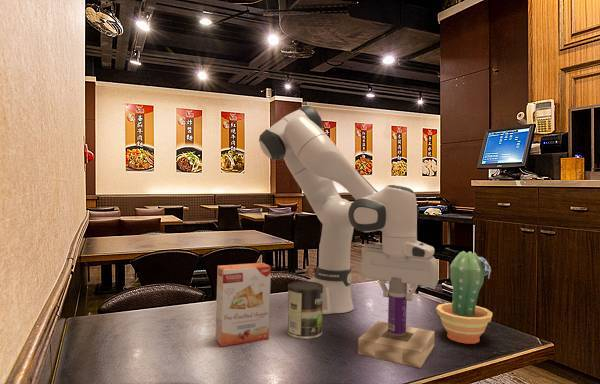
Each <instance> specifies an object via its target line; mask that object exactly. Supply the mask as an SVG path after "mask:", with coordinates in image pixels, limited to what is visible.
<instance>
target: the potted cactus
mask: <svg viewBox="0 0 600 384" xmlns="http://www.w3.org/2000/svg"><path fill="white" fill-rule="evenodd" d="M449 267H450V268H449V269H450V270H449V272H450V273H449V274H450V281H451V285H452V297H451V298H452V300H451V301H452V302H445V303H441V304H438V305H437V306H436V307H435V309H436V313H437V315H438V316H439V318H440V321H441V324H442V326H443V327H444V329H445V330H446V332H447V334H446V337H447V338H448V339H449V340H451V341H453V342H457V343H462V344H477V343H479V342H481V341H480V337H481V336H482V335H483V334H484V333H485V330H486V329H487V326H488V324H489V323H491V321H492V317H493V312H492V311H490V310H489V309H488V308H485V307H481V306H478V305H477V301H478V298H479V293H480V291H481V288H482V286H483V284H484V279H485V277H486V276H487V275H488V277H487V279H488V280H489V279H490V276H491V272H492V269H491V268H492V267H491V266H490V264H489V262H488V261H487V259H486V258H484V257H483V256H478V254H477V253H476V252H474V253H473V252H472V251H468V252H466V251H465V250H462V251H460V252H459V253H458V254H457V255H456V256H455V258H454V259H453V260H452V261H451V264H450V265H449Z"/></svg>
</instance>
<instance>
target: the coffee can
mask: <svg viewBox="0 0 600 384" xmlns="http://www.w3.org/2000/svg"><path fill="white" fill-rule="evenodd" d="M287 289H288V290H287V291H288V293H287V295H288V297H287V299H288V301H287V304H288V305H287V334H288V335H289V336H290V337H292V338H295V339H301V340H311V339H316V338H319V337H321V336H322V335H323V314H322V298H323V285H322V284H320V283H317V282H310V281H309V280H303V281H300V280H299V281H293V282H290V283H288V285H287Z"/></svg>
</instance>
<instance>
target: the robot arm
mask: <svg viewBox="0 0 600 384" xmlns="http://www.w3.org/2000/svg"><path fill="white" fill-rule="evenodd" d="M322 119H323V118H322V117H321V115H320V114H319V112H318V111H317V110H316V109H315V108H314V107H313V106H310V105H305V106H301V107H299V108H297V110H295V111H292V112H291V113H288V114H287V115H285V116H283V117H281V119H279V120H278V121H277V122H275V123H274V124H273V125H271V126H270V127H269V128H268V129H267V128H266V129H264V131H263V132H261V134H260V135H259V139H258V142H259V146H260V149H261V151H262V153H263V154H264V155H265V156H266V157H268V158H269V159H270V160H271V161H279V160H281V159H283V160H284V162H285V164H286V167H287V168H288V170H289V172H290V173H291V175H292V177H293V179H294V180H295V182H296V183H297V185H298V186H299V187H300V190H301V191H302V192H303V194H304V195H305V197H306V200H307V201H308V203H309V205H310V206H311V208H312V210H313V212H314V215H316V216H317V219H318V220H319V221H320V223H321V224H322V228H321V235H320V242H319V245H318V247H319V248H318V266H317V267H315V268H313V269H312V272H311V273H313V274H314V275H313V276H312V277H311V278H310V279H308V281H310V282H317V283H320V284H322V285H323V298H322V315H330V314H343V313H349V312H351V311H353V310H354V309H355V307H354V303H353V297H352V290H351V284H352V268H351V248H352V247H351V245H352V241H353V235H354V229H355V230H356V231H359V232H363V233H370V232H377V231H381V233H382V235H381V236H382V238H381V239H382V240H381V241H382V242H381V244H372V243H367V244H366V245H363V247H362V248H361V258H362V261H361V265H360V275H361V276H362V278H365V279H372V280H378V282H379V283H378V285H379V286H380V288H381V290H382V296H383V298H389V288H388V287H387V285H386V284H387V282H389V281H391V277H393V278H401V279H402V283H406V284H407V285H409V286H410V289H411V290H410V292H407V293H406V300H407V302H413V299H414V293H416V290H417V288H418V287H419V286H422V287H429V288H434V287H436V285H438V283H439V280H440V279H439V266H438V261H437V259H436V258H435V256H434V254H435V248H434V246H432V245H429V244H427V243H424V242H421V241H419V240H418V239H417V232H416V224H417V221H418V203H417V202H418V201H417V196H416V194H415V191H414V190H412V188H409V187H406V186H401V185H397V184H390V185H386V186H385V187H384V188H383V189H381V190H379V191H378V190H377V189H375V187H374V186H373V185H372V184H371V183H370V182H369V181H368V180H367V179H366V178H365V177H364V176H363V175H362V174H361V173H360V172H359V171H358V170H357V169H356V168H355V166H353V165H352V164H351V163H350V161H349V160H348V159H347V158H346V157H345V156H344V154H343V153H342V151H340V149H339V148H338V147H337V145H336V143H334V141H332V139H331V138H330V137H329V136H328V135H327V134H326V132H325V131H324V130H323V120H322ZM334 182H336V183H337V184H339V185H341V186H342V187H343V188H344V189H345V190H346V191H347V192H348V193H349V194H350V195H351V196H352V197H353V198H354V201H353V202H352V203H351V202H350V201H349V200H348V199H345V198H342V197H341V195H340V194H339V191H338V190H337V188H336V186H335V184H334Z"/></svg>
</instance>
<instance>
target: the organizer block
mask: <svg viewBox="0 0 600 384" xmlns="http://www.w3.org/2000/svg"><path fill="white" fill-rule="evenodd" d="M435 336H436V335H435V331H434V330H428V329H423V328H417V327H413V326H407V325H406V334H405V335H403V336H395V335H391V334H389V333H388V322H385V321H380V320H378V321H376V322H375V323H373V325H372V326H371V327H369V329H367V331H365V332H364V333H363V334H362V335H361V336H360V337H359V338H358V341H357V342H358V343H357V344H358V345H357V354H358V355H362V356H366V357H369V358H375V359H379V360H383V361H387V362H391V363H396V364H400V365H404V366H409V367H413V368H417V369H421V368H422V367H423V365H424V364H425V362H426V361H427V358H428V357H429V356H430V354H431V353H432V351H433V349H434V348H435Z"/></svg>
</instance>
